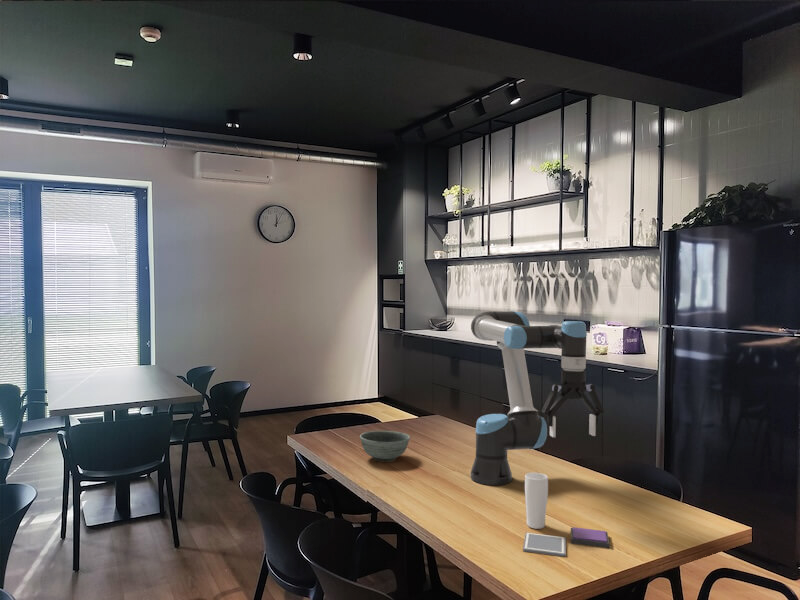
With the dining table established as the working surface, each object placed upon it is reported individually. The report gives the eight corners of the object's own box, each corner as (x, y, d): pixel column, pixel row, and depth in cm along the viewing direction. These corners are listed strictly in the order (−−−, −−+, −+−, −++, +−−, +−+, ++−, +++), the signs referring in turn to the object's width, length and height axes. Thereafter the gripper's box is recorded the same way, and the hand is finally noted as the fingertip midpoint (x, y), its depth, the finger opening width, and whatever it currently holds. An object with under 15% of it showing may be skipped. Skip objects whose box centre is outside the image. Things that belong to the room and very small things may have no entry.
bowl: (350, 463, 230) (350, 438, 230) (372, 449, 249) (372, 427, 249) (398, 469, 222) (398, 444, 222) (417, 455, 241) (417, 432, 241)
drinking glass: (521, 521, 173) (521, 472, 173) (543, 521, 174) (543, 472, 174) (528, 531, 167) (528, 479, 166) (550, 530, 167) (551, 479, 167)
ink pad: (571, 543, 159) (571, 537, 159) (570, 531, 166) (570, 526, 166) (609, 548, 156) (609, 542, 156) (607, 536, 164) (607, 530, 164)
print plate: (522, 551, 154) (523, 548, 154) (525, 534, 164) (525, 532, 164) (565, 556, 151) (565, 554, 151) (565, 539, 161) (565, 537, 161)
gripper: (541, 371, 177) (540, 439, 177) (615, 370, 181) (614, 437, 181) (531, 368, 184) (531, 433, 185) (603, 367, 189) (602, 431, 189)
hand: (572, 435), depth 183 cm, fingers open, 13 cm apart
